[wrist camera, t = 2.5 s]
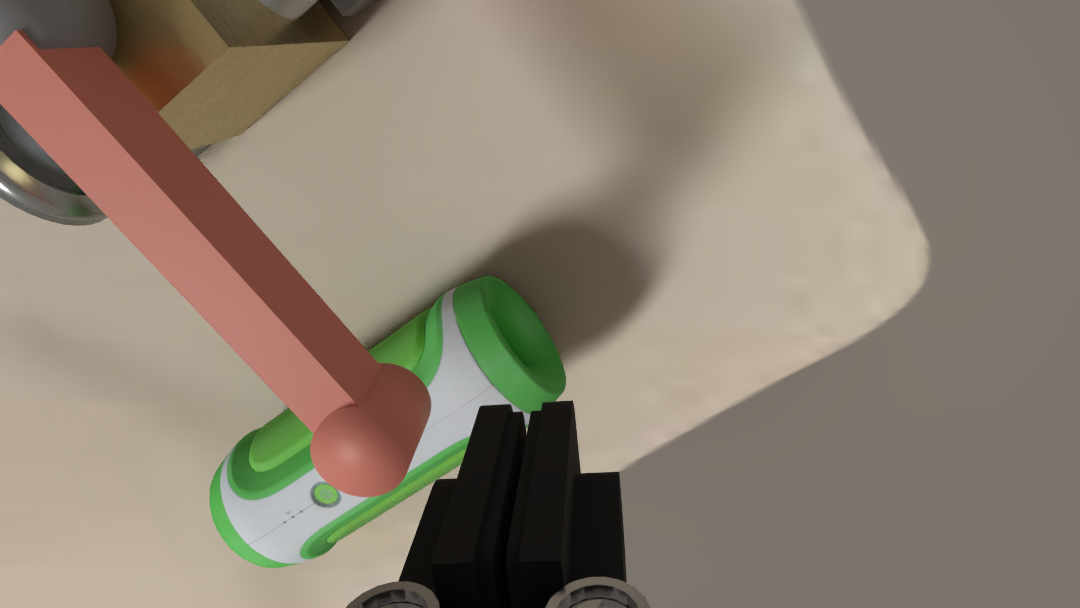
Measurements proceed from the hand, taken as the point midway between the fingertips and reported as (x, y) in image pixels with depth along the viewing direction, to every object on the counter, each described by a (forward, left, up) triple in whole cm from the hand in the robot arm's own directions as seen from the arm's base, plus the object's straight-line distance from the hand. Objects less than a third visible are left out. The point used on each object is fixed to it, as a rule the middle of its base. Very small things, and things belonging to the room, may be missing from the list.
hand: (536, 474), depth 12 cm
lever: (-7, +7, -10) cm, 15 cm away
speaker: (-13, -4, -22) cm, 26 cm away
